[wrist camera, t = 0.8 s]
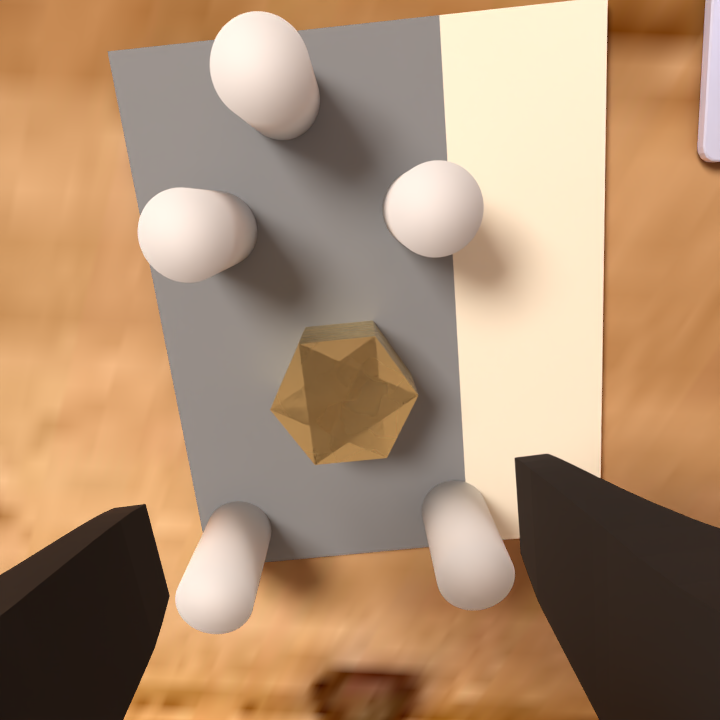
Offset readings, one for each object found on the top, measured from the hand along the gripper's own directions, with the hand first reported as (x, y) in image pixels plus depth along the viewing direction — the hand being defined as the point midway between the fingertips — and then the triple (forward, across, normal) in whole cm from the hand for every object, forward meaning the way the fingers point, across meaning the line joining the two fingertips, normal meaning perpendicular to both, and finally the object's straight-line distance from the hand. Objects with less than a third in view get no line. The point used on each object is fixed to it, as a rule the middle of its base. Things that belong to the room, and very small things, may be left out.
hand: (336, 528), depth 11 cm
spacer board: (+10, -2, -2) cm, 10 cm away
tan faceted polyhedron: (+10, 0, 0) cm, 10 cm away
